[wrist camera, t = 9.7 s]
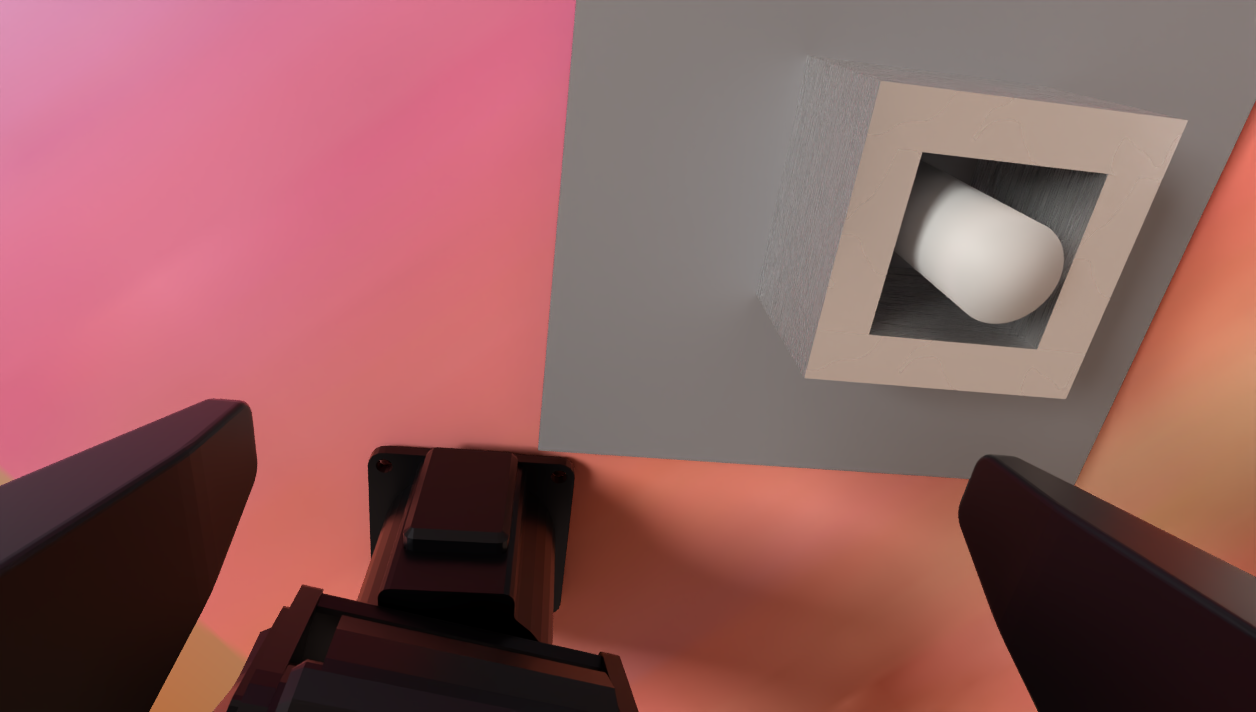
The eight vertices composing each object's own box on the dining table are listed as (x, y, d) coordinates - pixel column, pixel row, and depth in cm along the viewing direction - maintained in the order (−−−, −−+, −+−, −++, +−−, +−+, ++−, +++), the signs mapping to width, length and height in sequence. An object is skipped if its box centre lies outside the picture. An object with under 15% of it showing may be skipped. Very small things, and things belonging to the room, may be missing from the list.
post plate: (1056, 468, 26) (1206, 621, 20) (539, 432, 24) (528, 591, 18) (1332, -139, 18) (1722, -197, 12) (599, -269, 16) (616, -418, 10)
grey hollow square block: (966, 314, 22) (1065, 399, 18) (756, 294, 22) (804, 377, 17) (1047, 86, 19) (1188, 120, 15) (807, 55, 19) (881, 80, 14)
